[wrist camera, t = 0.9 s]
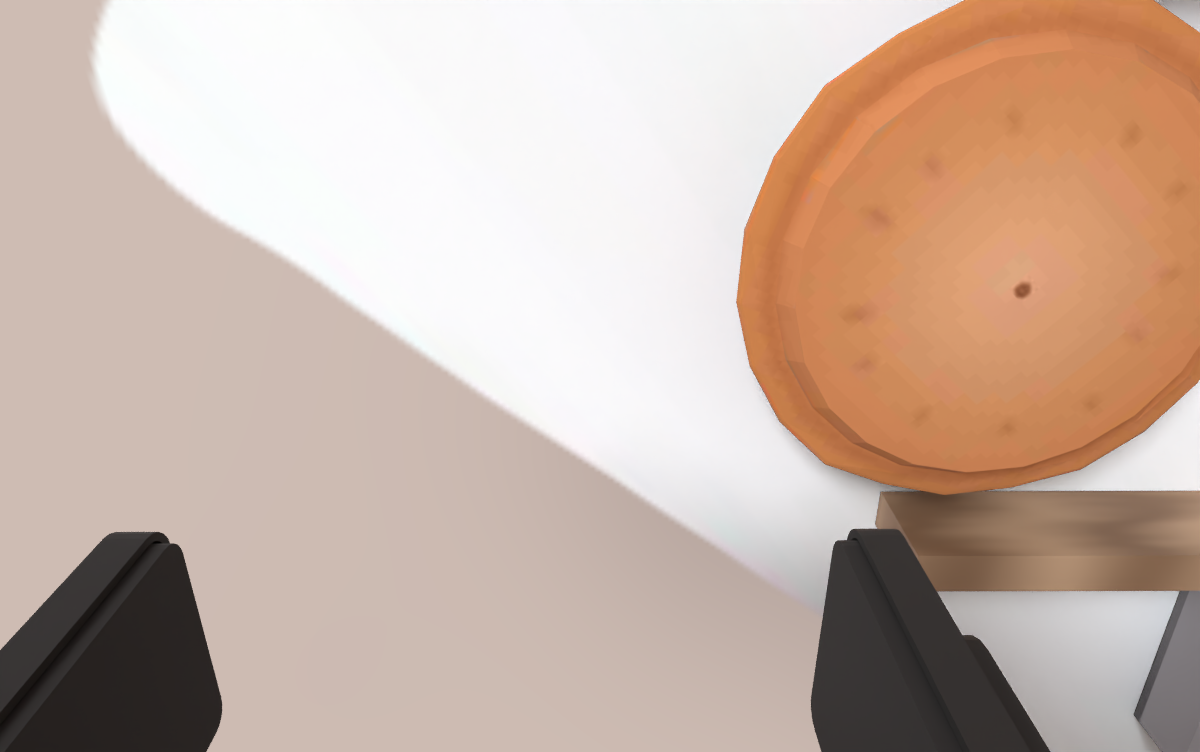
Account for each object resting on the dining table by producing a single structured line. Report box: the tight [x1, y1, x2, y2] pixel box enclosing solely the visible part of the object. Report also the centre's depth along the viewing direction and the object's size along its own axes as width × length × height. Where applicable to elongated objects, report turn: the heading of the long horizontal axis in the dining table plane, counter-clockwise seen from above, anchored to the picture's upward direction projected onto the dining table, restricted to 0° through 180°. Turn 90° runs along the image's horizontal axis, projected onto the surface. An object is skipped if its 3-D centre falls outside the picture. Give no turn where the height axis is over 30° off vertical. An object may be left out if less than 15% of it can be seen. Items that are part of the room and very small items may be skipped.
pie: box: [736, 0, 1200, 495], centre depth 25 cm, size 16×16×5 cm
